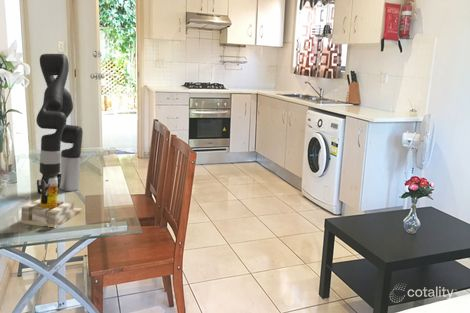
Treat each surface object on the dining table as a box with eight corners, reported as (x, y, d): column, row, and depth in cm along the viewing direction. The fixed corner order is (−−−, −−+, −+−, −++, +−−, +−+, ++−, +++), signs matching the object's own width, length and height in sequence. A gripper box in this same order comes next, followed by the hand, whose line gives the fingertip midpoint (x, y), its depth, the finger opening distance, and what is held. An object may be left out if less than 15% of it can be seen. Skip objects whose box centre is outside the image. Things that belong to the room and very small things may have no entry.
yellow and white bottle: (50, 215, 162) (51, 179, 159) (36, 213, 163) (37, 176, 160) (59, 211, 168) (61, 176, 165) (46, 208, 169) (47, 173, 166)
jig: (52, 207, 181) (52, 193, 180) (82, 211, 180) (82, 197, 178) (21, 223, 159) (21, 207, 158) (54, 228, 158) (55, 212, 157)
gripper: (51, 156, 169) (49, 195, 172) (30, 163, 155) (29, 205, 158) (68, 159, 168) (66, 198, 171) (49, 165, 154) (47, 208, 157)
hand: (48, 201), depth 164 cm, fingers closed on yellow and white bottle, 6 cm apart
